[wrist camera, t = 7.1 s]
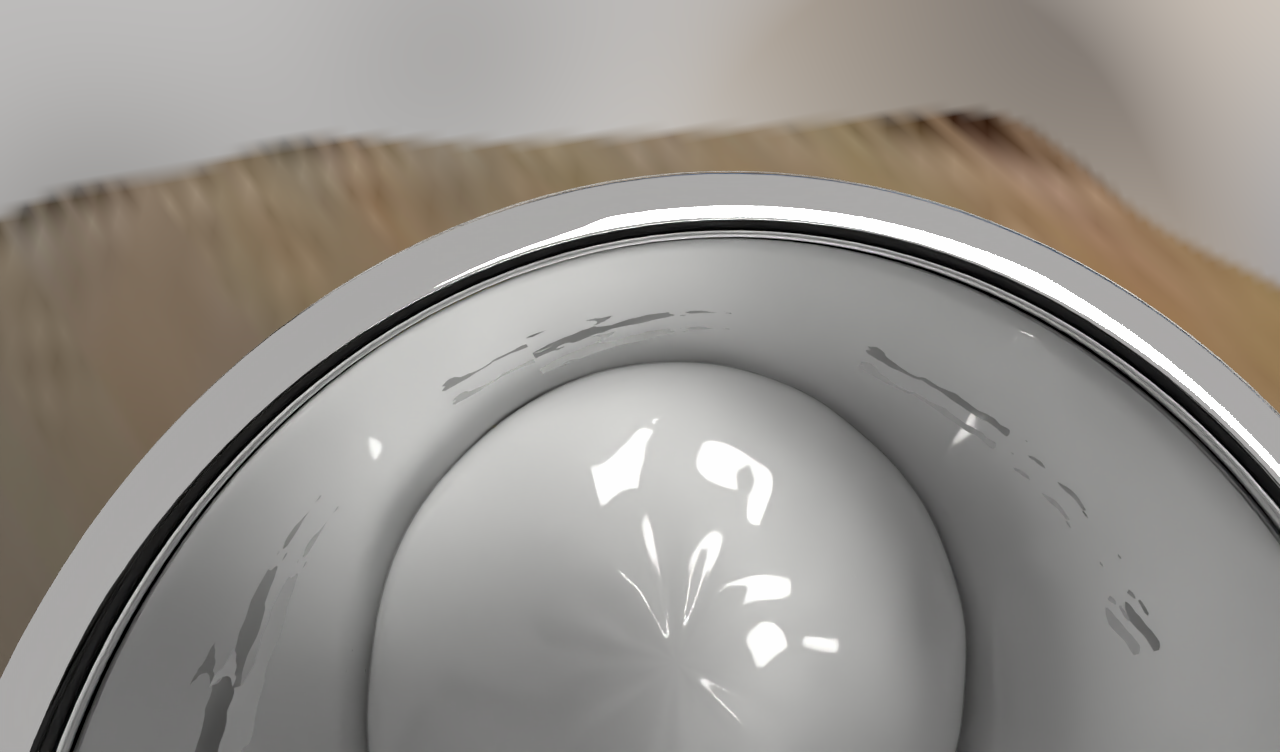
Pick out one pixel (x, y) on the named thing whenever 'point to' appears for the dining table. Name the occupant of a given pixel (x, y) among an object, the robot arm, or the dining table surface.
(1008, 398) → the beer glass
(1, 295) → the dining table surface
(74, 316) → the dining table surface
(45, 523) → the dining table surface
